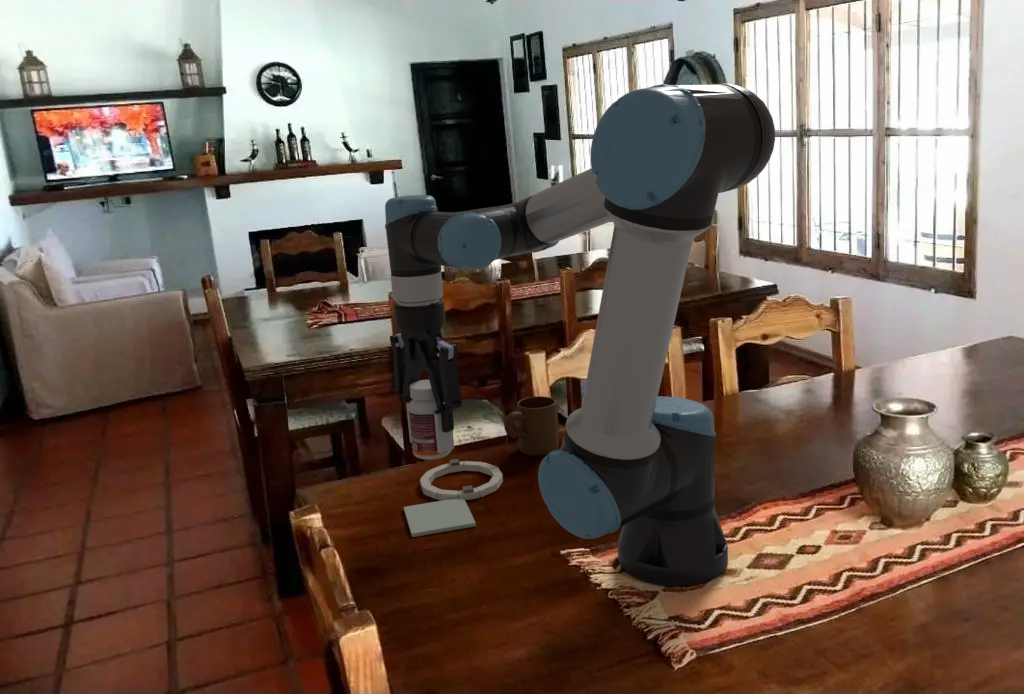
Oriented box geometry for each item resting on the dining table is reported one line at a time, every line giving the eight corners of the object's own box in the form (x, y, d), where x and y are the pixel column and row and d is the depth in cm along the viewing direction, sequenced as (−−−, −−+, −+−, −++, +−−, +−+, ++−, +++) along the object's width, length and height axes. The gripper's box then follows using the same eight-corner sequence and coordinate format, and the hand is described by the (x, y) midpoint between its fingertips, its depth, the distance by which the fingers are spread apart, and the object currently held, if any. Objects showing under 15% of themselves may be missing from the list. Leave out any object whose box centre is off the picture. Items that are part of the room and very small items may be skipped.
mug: (522, 467, 156) (519, 418, 154) (493, 457, 162) (490, 410, 159) (567, 447, 164) (565, 400, 162) (538, 439, 170) (536, 393, 167)
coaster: (475, 526, 135) (475, 522, 135) (412, 537, 133) (411, 533, 133) (463, 500, 144) (463, 497, 144) (403, 510, 142) (403, 506, 142)
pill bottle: (444, 461, 132) (438, 391, 129) (407, 459, 134) (400, 390, 131) (457, 446, 138) (451, 378, 135) (420, 445, 140) (414, 377, 137)
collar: (510, 492, 146) (509, 483, 146) (428, 506, 143) (427, 496, 143) (491, 462, 159) (491, 453, 159) (416, 474, 156) (415, 465, 156)
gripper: (480, 302, 125) (490, 452, 131) (400, 289, 139) (413, 425, 145) (440, 313, 120) (453, 467, 126) (361, 298, 134) (376, 438, 140)
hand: (431, 444), depth 136 cm, fingers closed on pill bottle, 6 cm apart
